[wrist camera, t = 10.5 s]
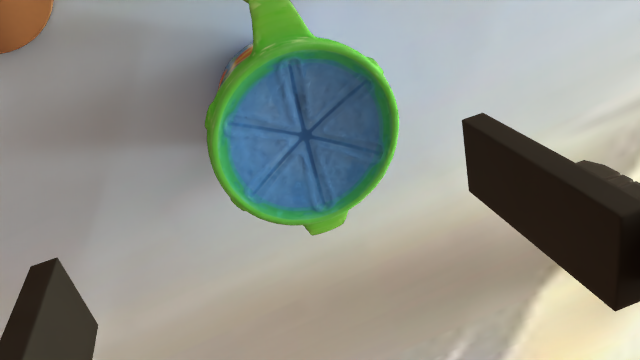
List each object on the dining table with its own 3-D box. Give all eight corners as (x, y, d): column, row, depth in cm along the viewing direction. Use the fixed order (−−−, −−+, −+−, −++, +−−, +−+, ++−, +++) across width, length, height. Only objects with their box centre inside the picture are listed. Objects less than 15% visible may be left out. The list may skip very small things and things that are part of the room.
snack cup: (351, 174, 40) (405, 239, 31) (220, 204, 38) (238, 283, 29) (332, -38, 33) (395, -31, 24) (170, -15, 31) (174, 1, 22)
